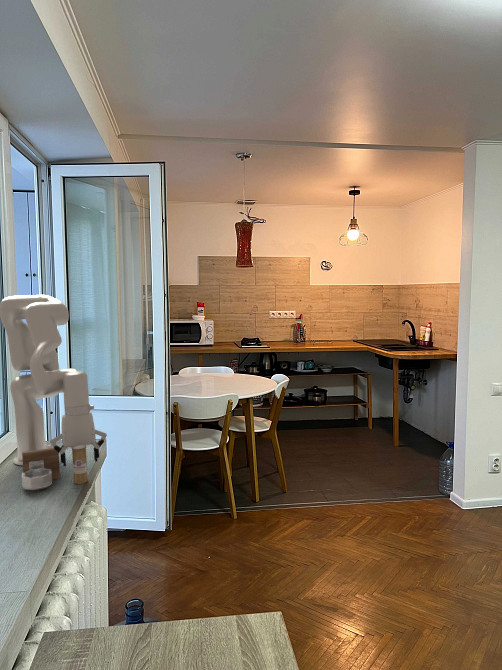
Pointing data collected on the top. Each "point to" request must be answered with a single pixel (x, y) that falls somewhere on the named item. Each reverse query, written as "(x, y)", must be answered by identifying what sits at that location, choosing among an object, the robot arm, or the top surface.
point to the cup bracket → (36, 476)
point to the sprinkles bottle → (79, 464)
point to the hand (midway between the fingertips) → (80, 462)
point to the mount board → (47, 455)
